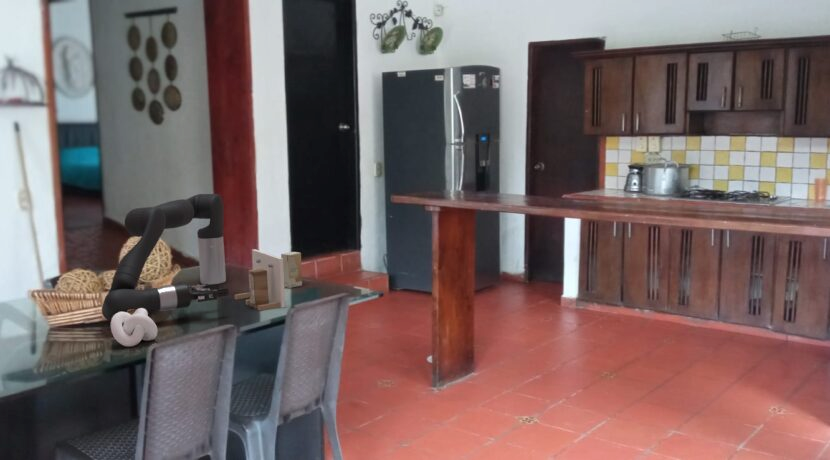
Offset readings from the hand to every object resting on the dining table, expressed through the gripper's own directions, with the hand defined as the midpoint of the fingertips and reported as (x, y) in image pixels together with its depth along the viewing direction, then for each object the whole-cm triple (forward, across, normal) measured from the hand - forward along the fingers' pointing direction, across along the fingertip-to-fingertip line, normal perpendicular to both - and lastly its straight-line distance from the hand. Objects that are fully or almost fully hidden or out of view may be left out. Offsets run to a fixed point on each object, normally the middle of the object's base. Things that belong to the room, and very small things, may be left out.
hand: (223, 289), depth 244 cm
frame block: (+12, 0, +8) cm, 14 cm away
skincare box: (+34, +20, +8) cm, 40 cm away
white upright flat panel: (+14, +5, +8) cm, 17 cm away
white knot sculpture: (-32, -14, +8) cm, 35 cm away
